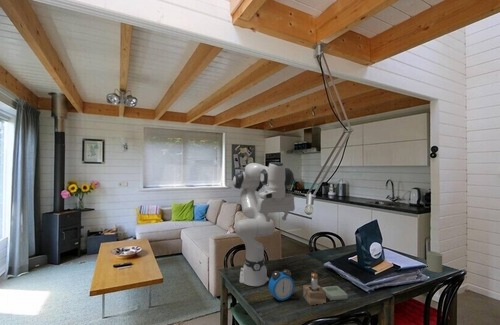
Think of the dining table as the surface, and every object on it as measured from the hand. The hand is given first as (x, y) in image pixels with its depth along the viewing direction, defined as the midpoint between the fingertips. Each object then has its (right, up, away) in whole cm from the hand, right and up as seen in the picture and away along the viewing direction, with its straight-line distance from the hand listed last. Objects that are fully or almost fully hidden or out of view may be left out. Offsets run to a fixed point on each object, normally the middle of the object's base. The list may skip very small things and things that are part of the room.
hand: (276, 220), depth 128 cm
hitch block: (+21, -45, +8) cm, 50 cm away
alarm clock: (+4, -45, +9) cm, 46 cm away
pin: (+21, -45, +8) cm, 50 cm away
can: (+117, -46, +49) cm, 135 cm away
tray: (+34, -45, +13) cm, 58 cm away
